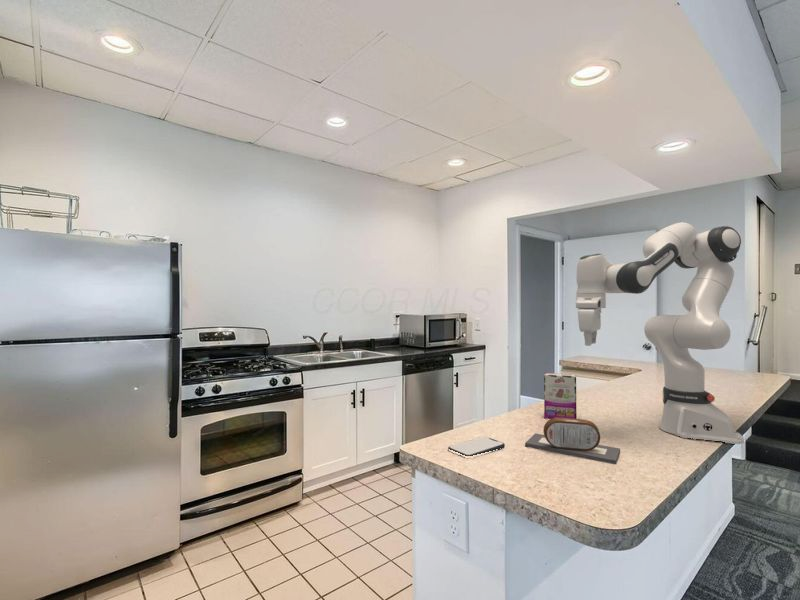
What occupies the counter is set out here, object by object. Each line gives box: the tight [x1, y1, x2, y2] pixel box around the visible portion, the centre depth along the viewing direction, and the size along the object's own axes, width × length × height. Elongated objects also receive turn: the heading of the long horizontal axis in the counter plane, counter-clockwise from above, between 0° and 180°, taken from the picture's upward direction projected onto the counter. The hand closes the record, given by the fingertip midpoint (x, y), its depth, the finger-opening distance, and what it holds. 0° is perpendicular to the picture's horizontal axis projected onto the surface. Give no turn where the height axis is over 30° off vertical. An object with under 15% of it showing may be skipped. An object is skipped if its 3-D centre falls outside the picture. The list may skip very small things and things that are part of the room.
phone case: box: [447, 436, 505, 456], centre depth 119 cm, size 9×2×16 cm
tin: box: [543, 417, 601, 451], centre depth 117 cm, size 15×3×8 cm, turn 75°
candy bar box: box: [543, 372, 578, 420], centre depth 151 cm, size 11×5×16 cm, turn 68°
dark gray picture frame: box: [524, 432, 621, 465], centre depth 119 cm, size 24×11×1 cm, turn 57°
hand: (590, 344), depth 135 cm, fingers open, 8 cm apart
